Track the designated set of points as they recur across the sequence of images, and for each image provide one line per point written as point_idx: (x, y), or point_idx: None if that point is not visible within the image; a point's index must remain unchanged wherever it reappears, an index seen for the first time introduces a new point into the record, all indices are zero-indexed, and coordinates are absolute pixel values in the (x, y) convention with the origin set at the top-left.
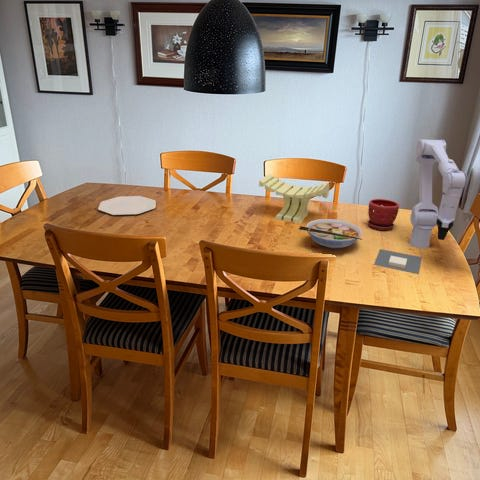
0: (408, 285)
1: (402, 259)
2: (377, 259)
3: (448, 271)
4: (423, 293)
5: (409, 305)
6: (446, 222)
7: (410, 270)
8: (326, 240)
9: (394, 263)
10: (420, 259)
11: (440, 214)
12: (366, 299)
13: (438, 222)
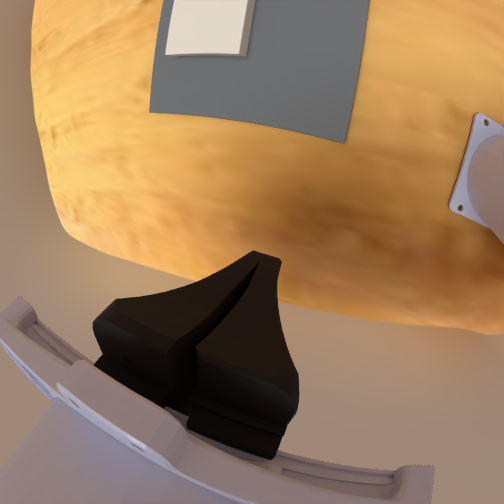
0: (94, 88)
1: (221, 33)
2: None
3: (242, 236)
4: (76, 132)
5: (38, 109)
6: (4, 347)
7: (167, 79)
8: None
9: (173, 11)
10: (309, 129)
11: (34, 426)
12: (37, 30)
13: (100, 331)
